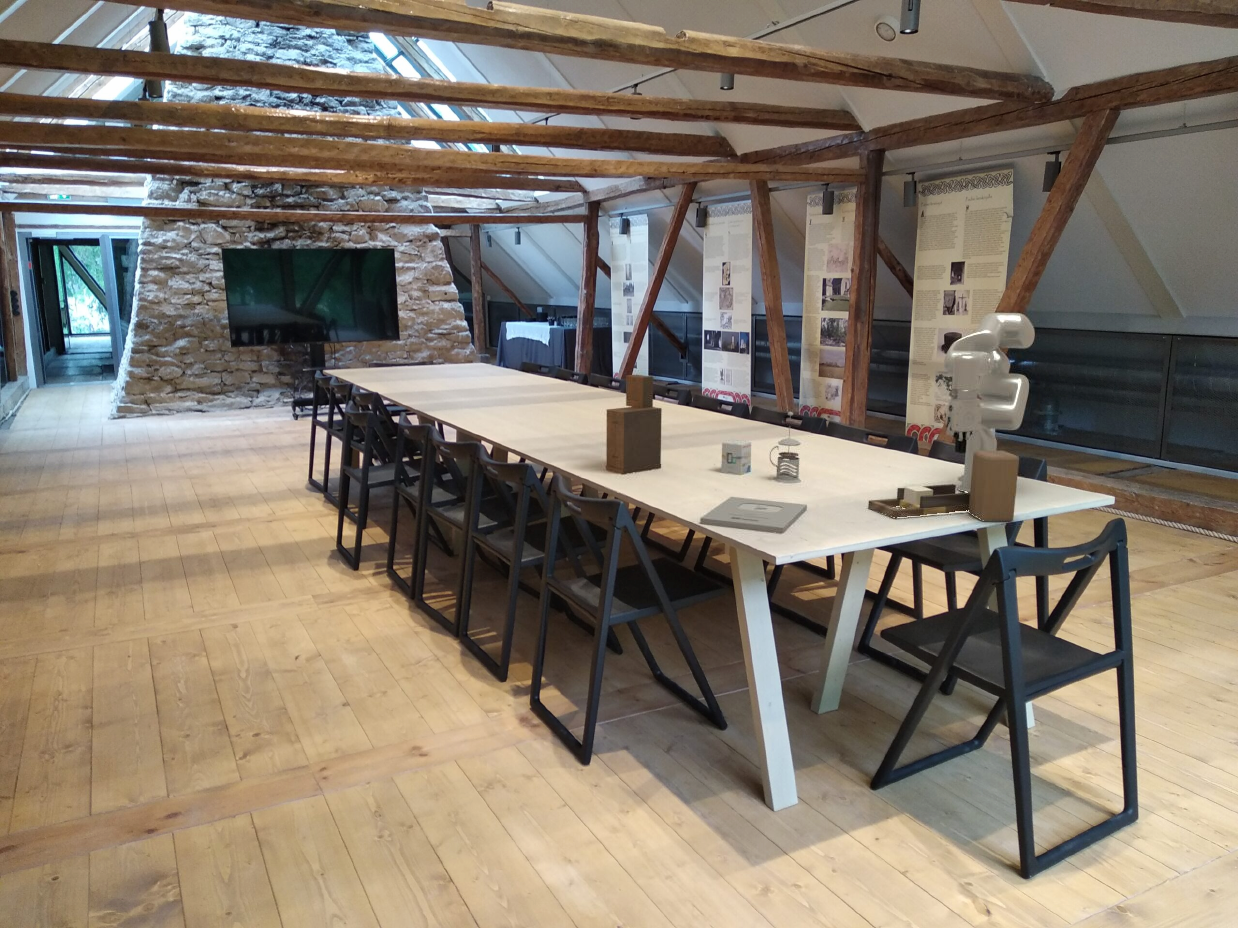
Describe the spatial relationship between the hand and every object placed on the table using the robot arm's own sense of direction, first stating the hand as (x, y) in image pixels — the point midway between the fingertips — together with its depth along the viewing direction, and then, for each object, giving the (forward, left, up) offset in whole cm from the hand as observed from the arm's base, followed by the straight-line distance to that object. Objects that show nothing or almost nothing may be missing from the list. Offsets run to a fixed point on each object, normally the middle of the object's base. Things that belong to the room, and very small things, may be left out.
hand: (960, 452), depth 271 cm
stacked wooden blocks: (-86, -79, -18) cm, 118 cm away
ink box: (-69, -44, -18) cm, 84 cm away
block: (+14, +1, -18) cm, 23 cm away
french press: (-51, -33, -18) cm, 64 cm away
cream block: (0, -15, -15) cm, 21 cm away
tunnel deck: (+1, -10, -18) cm, 21 cm away
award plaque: (-7, -67, -18) cm, 70 cm away
